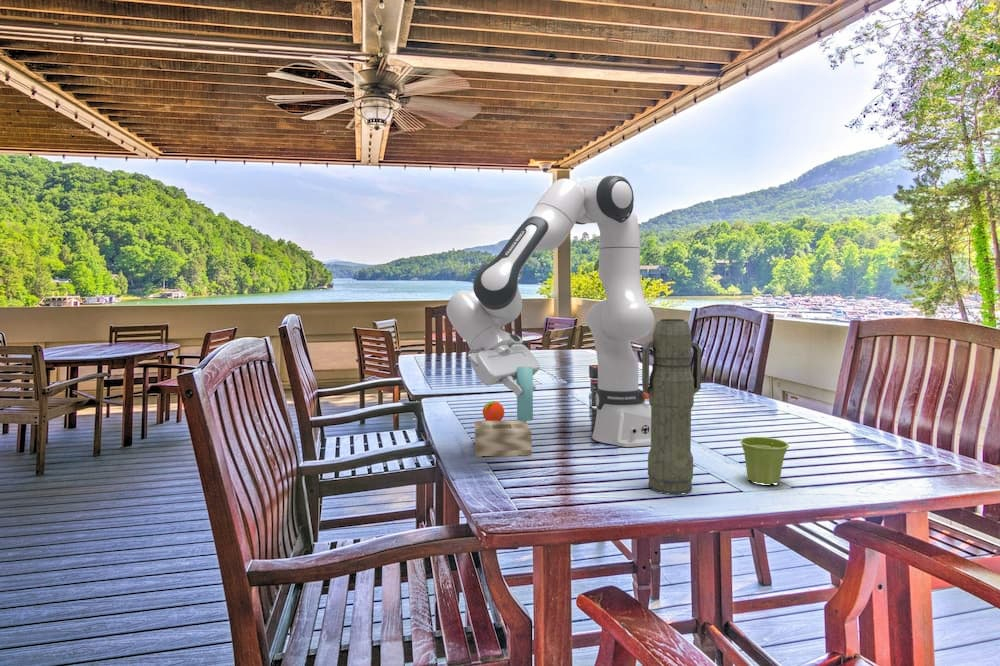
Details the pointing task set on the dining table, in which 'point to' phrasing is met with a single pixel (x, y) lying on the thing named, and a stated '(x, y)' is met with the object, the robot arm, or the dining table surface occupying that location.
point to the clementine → (493, 411)
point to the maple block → (502, 438)
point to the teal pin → (525, 394)
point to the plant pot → (764, 458)
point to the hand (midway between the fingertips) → (527, 392)
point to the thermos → (671, 404)
